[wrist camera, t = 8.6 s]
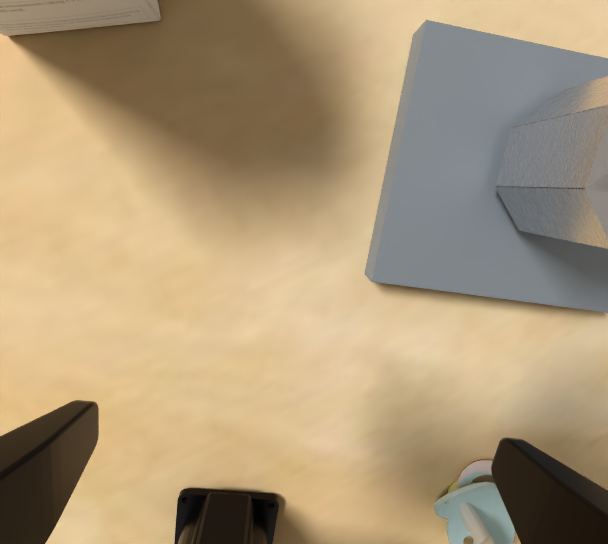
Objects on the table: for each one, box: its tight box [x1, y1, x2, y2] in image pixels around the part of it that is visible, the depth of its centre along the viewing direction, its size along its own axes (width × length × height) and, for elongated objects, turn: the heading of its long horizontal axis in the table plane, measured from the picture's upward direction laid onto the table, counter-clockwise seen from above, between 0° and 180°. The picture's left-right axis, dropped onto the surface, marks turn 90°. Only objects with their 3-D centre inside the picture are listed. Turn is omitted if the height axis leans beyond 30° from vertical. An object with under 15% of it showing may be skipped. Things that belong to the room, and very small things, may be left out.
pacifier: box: [434, 460, 515, 544], centre depth 21 cm, size 7×6×6 cm
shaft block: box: [365, 20, 608, 313], centre depth 16 cm, size 12×14×4 cm
